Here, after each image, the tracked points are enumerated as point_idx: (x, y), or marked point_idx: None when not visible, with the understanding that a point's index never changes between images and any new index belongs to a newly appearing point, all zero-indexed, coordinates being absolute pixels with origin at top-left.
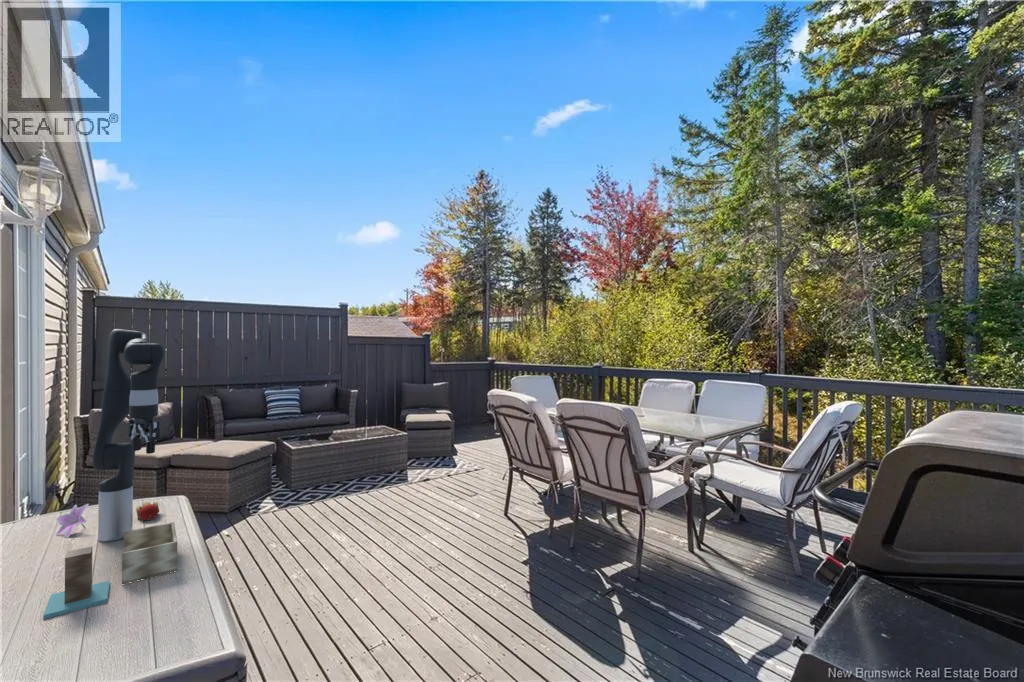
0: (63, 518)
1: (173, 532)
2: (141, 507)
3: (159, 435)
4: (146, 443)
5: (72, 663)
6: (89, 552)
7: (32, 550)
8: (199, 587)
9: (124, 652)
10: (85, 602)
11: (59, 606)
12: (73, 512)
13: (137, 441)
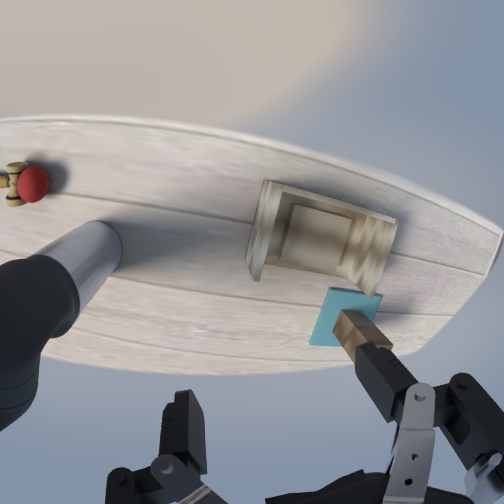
0: None
1: (349, 208)
2: (13, 196)
3: (483, 389)
4: (387, 417)
5: (442, 319)
6: (391, 346)
7: (86, 345)
8: (429, 207)
9: (460, 289)
10: (369, 315)
11: None
12: None
13: (198, 451)
